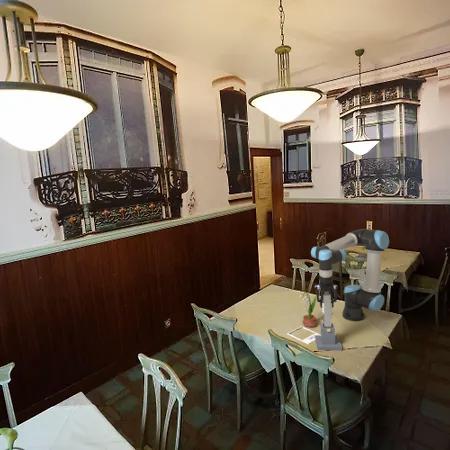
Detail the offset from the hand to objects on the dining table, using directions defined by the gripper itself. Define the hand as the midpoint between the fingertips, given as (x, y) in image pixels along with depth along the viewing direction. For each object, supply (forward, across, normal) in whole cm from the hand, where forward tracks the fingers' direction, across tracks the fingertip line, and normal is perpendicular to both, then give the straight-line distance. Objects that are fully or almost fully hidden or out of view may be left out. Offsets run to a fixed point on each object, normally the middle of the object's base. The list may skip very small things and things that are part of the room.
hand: (327, 312), depth 196 cm
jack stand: (+21, 0, 0) cm, 21 cm away
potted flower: (+21, +9, -25) cm, 34 cm away
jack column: (+12, 0, 0) cm, 12 cm away
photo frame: (+22, +13, -11) cm, 28 cm away
